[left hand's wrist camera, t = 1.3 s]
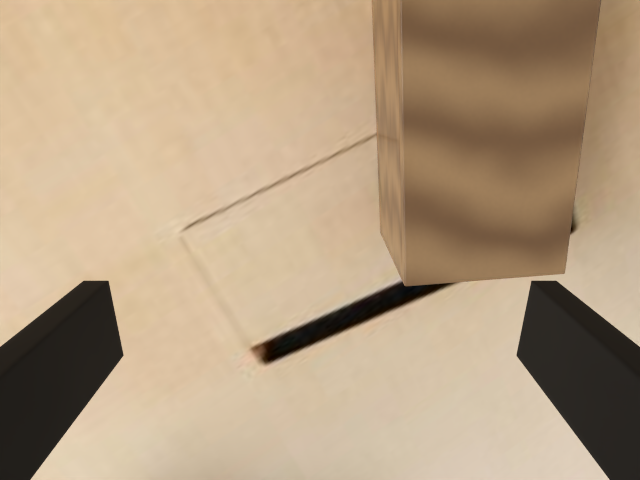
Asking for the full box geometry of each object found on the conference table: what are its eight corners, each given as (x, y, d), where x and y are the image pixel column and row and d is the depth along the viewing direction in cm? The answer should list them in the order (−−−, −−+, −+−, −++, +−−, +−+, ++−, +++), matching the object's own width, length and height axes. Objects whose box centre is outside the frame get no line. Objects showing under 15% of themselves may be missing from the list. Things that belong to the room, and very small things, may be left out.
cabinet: (371, -9, 29) (398, -64, 19) (511, -23, 29) (613, -86, 19) (380, 233, 35) (404, 286, 25) (495, 223, 35) (565, 274, 25)
